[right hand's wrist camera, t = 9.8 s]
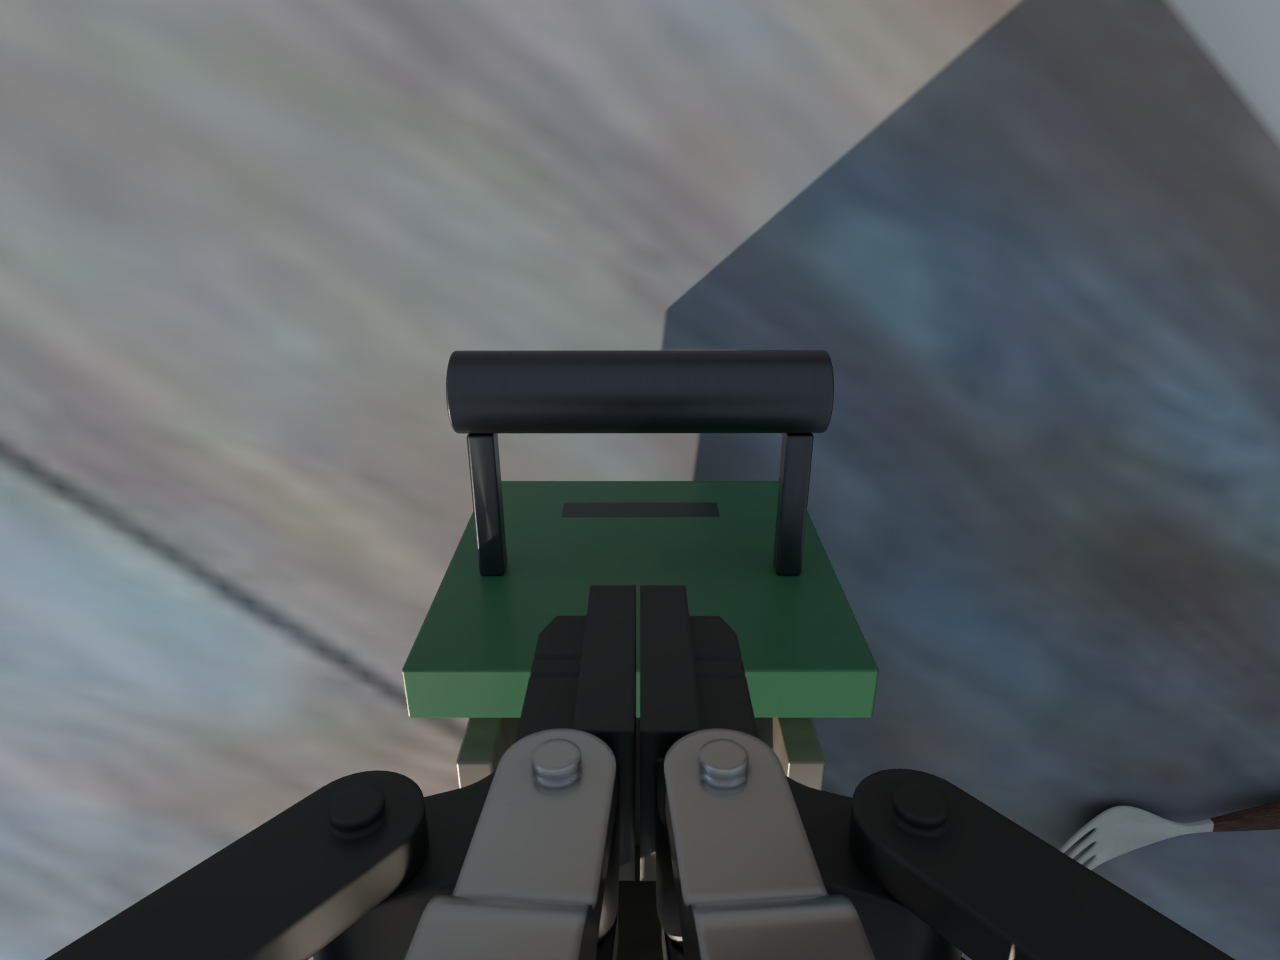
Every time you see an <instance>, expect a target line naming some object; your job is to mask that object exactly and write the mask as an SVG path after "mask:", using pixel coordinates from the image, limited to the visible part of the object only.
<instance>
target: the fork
mask: <svg viewBox="0 0 1280 960" xmlns="http://www.w3.org/2000/svg"><path fill="white" fill-rule="evenodd" d="M1094 828H1095V829H1094ZM1092 829H1094V831H1093V832H1092V833H1091V834H1090V835H1088V836H1087V837H1086V838H1085V839H1084V840H1083V841H1082V842H1080V843H1079V844H1078V845H1077V846H1076V847H1075V848H1074V849H1073V850H1072V851H1071V852H1070V853H1069V854H1068V855H1067V856H1069V857H1071V858H1072V859H1073V858H1074V857H1075V856H1076V855H1077V854H1079V853H1080V852H1081V851H1082V850H1083V849H1085V848H1086V847H1087V846H1089V845H1090V844H1092V843H1093V842H1095V843H1094V844H1093V845H1092V846H1091V847H1090V848H1089V849H1088V850H1087V851H1086V852H1084V853H1083V854H1082V855H1081V856H1080V857H1079V858H1078V859H1077V860H1076V861H1077V862H1079V863H1080V864H1083V863H1084V862H1085V861H1087V860H1088V859H1089V858H1091V857H1092V856H1094V855H1095V856H1094V858H1093V859H1092V860H1091V861H1089V862H1088V863H1087V864H1086V865H1085V867H1087V868H1088V869H1090V870H1092V869H1094V868H1095V867H1097V866H1098V865H1100V864H1102V863H1104V862H1106V861H1108V860H1110V859H1113V858H1115V857H1117V856H1120V855H1122V854H1125V853H1127V852H1130V851H1133V850H1135V849H1138V848H1141V847H1144V846H1147V845H1149V844H1152V843H1155V842H1158V841H1161V840H1165V839H1168V838H1172V837H1176V836H1180V835H1185V834H1191V833H1201V832H1220V831H1246V830H1270V829H1280V801H1279V802H1275V803H1270V804H1266V805H1262V806H1258V807H1254V808H1250V809H1246V810H1242V811H1238V812H1234V813H1230V814H1226V815H1222V816H1218V817H1214V818H1210V819H1206V820H1201V821H1196V822H1190V823H1179V822H1174V821H1170V820H1167V819H1165V818H1162V817H1160V816H1157V815H1155V814H1153V813H1150V812H1148V811H1145V810H1142V809H1139V808H1136V807H1132V806H1116V807H1112V808H1110V809H1107V810H1105V811H1104V812H1102V813H1100V814H1099V815H1097V816H1096V817H1095V818H1093V819H1092V820H1091V821H1089V822H1088V823H1087V824H1086V825H1084V826H1083V827H1082V828H1081V829H1080V830H1078V831H1077V832H1076V833H1075V834H1074V835H1073V836H1072V837H1071V838H1070V839H1069V840H1068V841H1067V842H1066V843H1065V844H1064V845H1063V846H1062V847H1061V848H1060V849H1059V851H1061V852H1063V853H1064V852H1065V851H1066V850H1068V849H1069V848H1070V847H1071V846H1072V845H1073V844H1074V843H1075V842H1077V841H1078V840H1079V839H1080V838H1081V837H1083V836H1084V835H1085V834H1086V833H1088V832H1089V831H1091V830H1092Z"/></svg>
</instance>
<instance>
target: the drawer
mask: <svg viewBox="0 0 1280 960" xmlns="http://www.w3.org/2000/svg"><path fill="white" fill-rule="evenodd" d="M446 397H447V408H448V414H449V419H450V422H451V425H452V428H453V430H454V431H455V432H456V433H469V434H468V435H467V445H468V456H469V466H470V477H471V487H472V498H473V509H474V511H473V513H472V516H471V518H470V520H469V522H468V525H467V527H466V529H465V531H464V533H463V536H462V538H461V540H460V542H459V545H458V547H457V549H456V551H455V553H454V556H453V558H452V560H451V562H450V565H449V567H448V569H447V571H446V574H445V576H444V578H443V580H442V582H441V585H440V587H439V589H438V591H437V594H436V596H435V598H434V600H433V602H432V605H431V607H430V609H429V611H428V614H427V616H426V618H425V620H424V623H423V625H422V627H421V629H420V631H419V634H418V636H417V638H416V640H415V643H414V645H413V647H412V649H411V651H410V654H409V656H408V658H407V660H406V663H405V665H404V667H403V669H402V675H403V682H404V689H405V695H406V702H407V709H408V715H409V717H410V718H469V721H468V724H467V727H466V731H465V734H464V737H463V741H462V744H461V748H460V751H459V754H458V758H457V761H456V767H457V775H458V783H459V788H463V787H466V786H468V785H471V784H473V783H476V782H478V781H480V780H481V779H483V778H485V777H487V776H488V775H490V774H491V773H493V772H494V771H495V770H496V769H497V767H498V764H499V762H500V760H501V757H502V756H503V755H504V753H505V752H506V751H507V750H508V749H509V748H510V747H511V746H512V745H513V744H514V743H515V739H516V735H517V730H518V726H519V721H520V717H521V712H522V708H523V703H524V699H525V694H526V690H527V685H528V681H529V677H530V672H531V667H532V663H533V659H534V654H535V650H536V645H537V641H538V636H539V633H540V632H541V631H542V630H543V629H544V628H545V627H546V626H547V625H548V624H549V623H550V622H551V621H552V620H553V619H554V618H555V617H556V616H587V608H588V600H589V592H590V585H636V794H635V881H619V889H618V949H617V958H616V960H664V958H663V949H662V925H661V923H660V921H659V918H658V914H657V903H656V881H640V585H685V586H686V593H687V602H688V610H689V616H720V617H721V618H722V619H723V620H724V621H725V622H726V623H727V624H728V625H729V626H730V627H731V628H732V630H733V631H734V632H735V633H736V634H737V637H738V642H739V646H740V651H741V659H742V660H743V665H744V670H745V677H746V679H747V684H748V689H749V693H750V698H751V703H752V707H753V712H754V717H755V721H756V726H757V731H758V735H759V739H760V740H761V741H763V742H764V743H766V744H767V745H768V746H769V747H770V748H771V749H772V750H773V751H774V752H775V753H776V755H777V756H778V757H779V760H780V762H781V764H782V767H783V769H784V772H785V775H786V776H787V777H789V778H791V779H793V780H794V781H796V782H798V783H801V784H803V785H805V786H808V787H811V788H814V789H818V790H821V791H822V784H823V775H824V767H825V761H824V757H823V754H822V751H821V747H820V744H819V741H818V737H817V734H816V730H815V727H814V724H813V720H812V717H872V713H873V706H874V699H875V692H876V685H877V678H878V672H879V670H878V668H877V666H876V663H875V661H874V659H873V657H872V654H871V652H870V650H869V648H868V646H867V643H866V641H865V639H864V637H863V634H862V632H861V630H860V628H859V625H858V623H857V621H856V619H855V616H854V614H853V612H852V610H851V608H850V605H849V603H848V601H847V599H846V596H845V594H844V592H843V590H842V587H841V585H840V583H839V581H838V579H837V576H836V574H835V572H834V570H833V567H832V565H831V563H830V561H829V558H828V556H827V554H826V552H825V549H824V547H823V545H822V543H821V541H820V538H819V536H818V534H817V532H816V529H815V527H814V525H813V523H812V520H811V518H810V516H809V514H808V512H807V503H808V492H809V481H810V470H811V459H812V449H813V438H814V437H813V434H812V433H823V432H825V431H826V430H827V428H828V425H829V423H830V419H831V415H832V408H833V398H834V377H833V368H832V363H831V359H830V356H829V354H828V352H826V351H824V350H764V351H455V352H453V353H452V354H451V357H450V360H449V363H448V369H447V378H446ZM497 433H783V437H782V451H781V464H780V477H779V481H501V473H500V461H499V448H498V435H497Z"/></svg>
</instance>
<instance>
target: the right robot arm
mask: <svg viewBox="0 0 1280 960" xmlns="http://www.w3.org/2000/svg"><path fill="white" fill-rule="evenodd" d="M635 794H636V585H590V592H589V600H588V608H587V616H556V617H555V618H554V619H553V620H552V621H551V622H550V623H549V624H548V625H547V626H546V627H545V628H544V629H543V630H542V631H541V632H540V633H539V636H538V641H537V645H536V650H535V654H534V659H533V663H532V667H531V672H530V677H529V681H528V685H527V690H526V694H525V699H524V703H523V708H522V712H521V717H520V721H519V726H518V730H517V735H516V739H515V743H514V744H513V745H512V746H511V747H510V748H509V749H508V750H507V751H506V752H505V753H504V755H503V756H502V757H501V760H500V762H499V764H498V767H497V769H496V770H495V771H494V772H493V773H491V774H490V775H488V776H487V777H485V778H483V779H481V780H480V781H478V782H476V783H473V784H471V785H468V786H466V787H463V788H459V789H456V790H452V791H448V792H444V793H440V794H436V795H432V796H427V797H423V794H422V791H421V789H420V788H419V786H418V785H417V784H416V783H415V782H414V781H413V780H411V779H410V778H408V777H406V776H404V775H401V774H398V773H395V772H389V771H365V772H360V773H355V774H352V775H348V776H345V777H342V778H340V779H338V780H335V781H333V782H331V783H329V784H327V785H326V786H324V787H322V788H320V789H319V790H317V791H316V792H314V793H312V794H311V795H309V796H307V797H306V798H304V799H303V800H301V801H299V802H298V803H296V804H295V805H293V806H291V807H290V808H288V809H287V810H285V811H283V812H282V813H280V814H279V815H277V816H275V817H274V818H272V819H271V820H269V821H267V822H266V823H264V824H262V825H261V826H259V827H258V828H256V829H254V830H253V831H251V832H250V833H248V834H246V835H245V836H243V837H242V838H240V839H238V840H237V841H235V842H234V843H232V844H230V845H229V846H227V847H225V848H224V849H222V850H221V851H219V852H217V853H216V854H214V855H213V856H211V857H209V858H208V859H206V860H205V861H203V862H201V863H200V864H198V865H197V866H195V867H193V868H192V869H190V870H188V871H187V872H185V873H184V874H182V875H180V876H179V877H177V878H176V879H174V880H172V881H171V882H169V883H168V884H166V885H164V886H163V887H161V888H160V889H158V890H156V891H155V892H153V893H151V894H150V895H148V896H147V897H145V898H143V899H142V900H140V901H139V902H137V903H135V904H134V905H132V906H131V907H129V908H127V909H126V910H124V911H123V912H121V913H119V914H118V915H116V916H114V917H113V918H111V919H110V920H108V921H106V922H105V923H103V924H102V925H100V926H98V927H97V928H95V929H94V930H92V931H90V932H89V933H87V934H86V935H84V936H82V937H81V938H79V939H77V940H76V941H74V942H73V943H71V944H69V945H68V946H66V947H65V948H63V949H61V950H60V951H58V952H57V953H55V954H53V955H52V956H50V957H49V958H47V959H45V960H308V959H309V958H311V957H312V956H313V959H314V960H616V958H617V949H618V889H619V881H635ZM640 881H656V903H657V914H658V918H659V921H660V923H661V925H662V949H663V958H664V960H965V959H964V958H963V957H961V954H962V952H963V953H964V954H965V955H967V956H968V957H969V958H971V959H972V960H1235V959H1233V958H1231V957H1230V956H1228V955H1227V954H1225V953H1223V952H1222V951H1220V950H1219V949H1217V948H1215V947H1214V946H1212V945H1211V944H1209V943H1207V942H1206V941H1204V940H1202V939H1201V938H1199V937H1198V936H1196V935H1194V934H1193V933H1191V932H1190V931H1188V930H1186V929H1185V928H1183V927H1182V926H1180V925H1178V924H1177V923H1175V922H1174V921H1172V920H1170V919H1169V918H1167V917H1165V916H1164V915H1162V914H1161V913H1159V912H1157V911H1156V910H1154V909H1153V908H1151V907H1149V906H1148V905H1146V904H1145V903H1143V902H1141V901H1140V900H1138V899H1137V898H1135V897H1133V896H1132V895H1130V894H1128V893H1127V892H1125V891H1124V890H1122V889H1120V888H1119V887H1117V886H1116V885H1114V884H1112V883H1111V882H1109V881H1108V880H1106V879H1104V878H1103V877H1101V876H1100V875H1098V874H1096V873H1095V872H1093V871H1092V870H1090V869H1088V868H1087V867H1085V866H1083V865H1082V864H1080V863H1079V862H1077V861H1075V860H1074V859H1072V858H1071V857H1069V856H1067V855H1066V854H1064V853H1063V852H1061V851H1059V850H1058V849H1056V848H1055V847H1053V846H1051V845H1050V844H1048V843H1046V842H1045V841H1043V840H1042V839H1040V838H1038V837H1037V836H1035V835H1034V834H1032V833H1030V832H1029V831H1027V830H1026V829H1024V828H1022V827H1021V826H1019V825H1018V824H1016V823H1014V822H1013V821H1011V820H1009V819H1008V818H1006V817H1005V816H1003V815H1001V814H1000V813H998V812H997V811H995V810H993V809H992V808H990V807H989V806H987V805H985V804H984V803H982V802H981V801H979V800H977V799H976V798H974V797H972V796H971V795H969V794H968V793H966V792H964V791H963V790H961V789H960V788H958V787H956V786H955V785H953V784H951V783H949V782H948V781H946V780H944V779H941V778H939V777H937V776H934V775H931V774H928V773H925V772H921V771H916V770H910V769H889V770H883V771H879V772H876V773H873V774H871V775H870V776H868V777H866V778H865V779H864V780H862V781H861V782H860V783H859V785H858V786H857V788H856V789H855V792H854V795H853V798H850V797H846V796H841V795H837V794H833V793H829V792H825V791H821V790H818V789H814V788H811V787H808V786H805V785H803V784H801V783H798V782H796V781H794V780H793V779H791V778H789V777H787V776H786V775H785V772H784V769H783V767H782V764H781V762H780V760H779V757H778V756H777V755H776V753H775V752H774V751H773V750H772V749H771V748H770V747H769V746H768V745H767V744H766V743H764V742H763V741H761V740H760V739H759V735H758V731H757V726H756V721H755V717H754V712H753V707H752V703H751V698H750V693H749V689H748V684H747V679H746V677H745V670H744V665H743V660H742V659H741V651H740V646H739V642H738V637H737V634H736V633H735V632H734V631H733V630H732V628H731V627H730V626H729V625H728V624H727V623H726V622H725V621H724V620H723V619H722V618H721V617H720V616H689V610H688V602H687V593H686V586H685V585H640Z"/></svg>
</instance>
